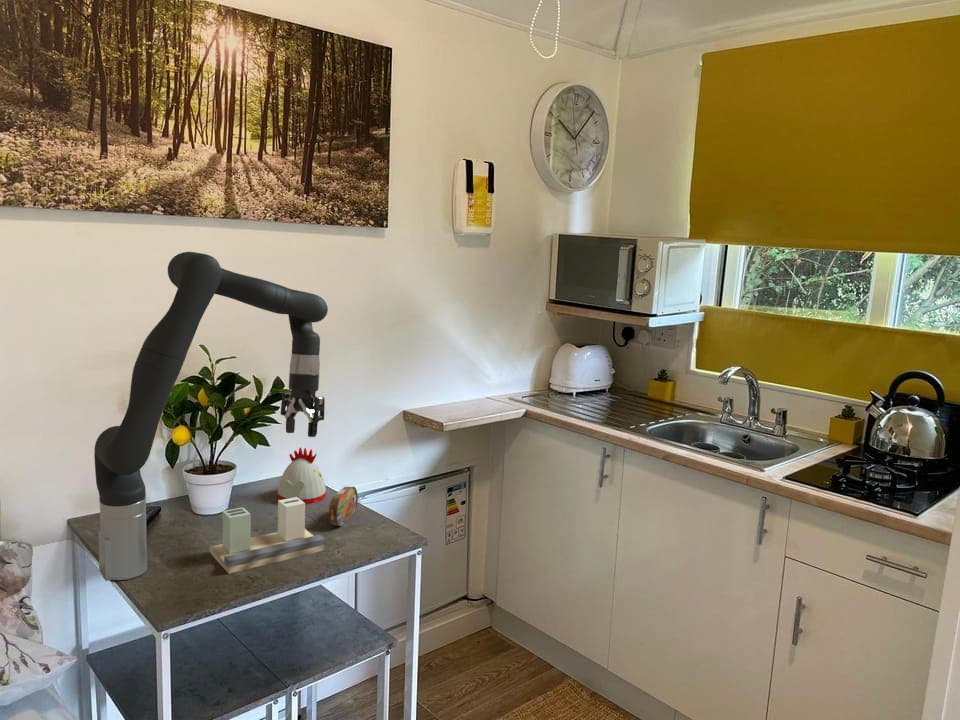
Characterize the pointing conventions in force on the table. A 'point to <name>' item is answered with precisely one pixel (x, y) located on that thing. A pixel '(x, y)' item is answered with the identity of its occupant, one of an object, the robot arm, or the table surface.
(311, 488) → the kitchen timer
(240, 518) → the key two
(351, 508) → the tin
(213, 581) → the table surface
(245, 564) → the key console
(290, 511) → the key one
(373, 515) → the table surface
